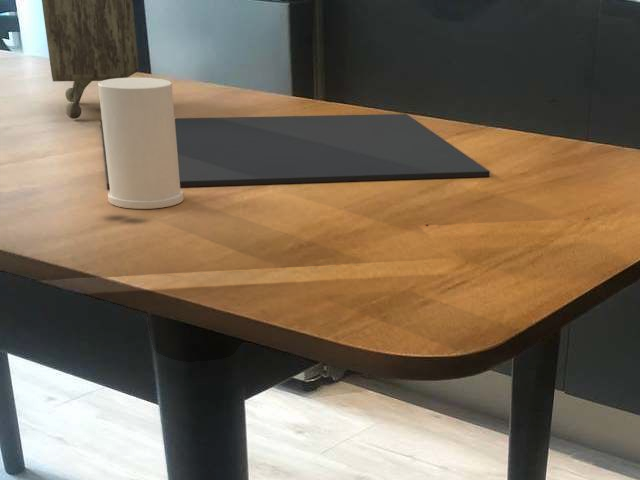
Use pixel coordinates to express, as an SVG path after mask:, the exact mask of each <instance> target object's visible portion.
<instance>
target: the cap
mask: <svg viewBox="0 0 640 480" xmlns="http://www.w3.org/2000/svg"><path fill="white" fill-rule="evenodd" d="M97 87H98V89H97V90H98V97H99V106H100V114H101V115H100V116H101V120H102V124H103V133H104V142H105V151H106V160H107V169H108V178H109V187H110V190H109V191H108V192H107V198H108V203H109V204H110V205H112V206H116V207H119V208H124V209H131V210H132V209H134V210H151V209H152V210H153V209H162V208H168V207H173V206H176V205H179V204H181V203H182V202H183V201H184V198H185V197H184V191H183V189H181V187H180V178H179V166H178V154H177V141H176V129H175V118H176V117H175V106H174V105H175V104H174V93H173V92H174V91H173V83H172V81H170V80H168V79H163V78H156V77H127V78H115V79H108V80H103V81H98V83H97Z"/></svg>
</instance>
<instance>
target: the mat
mask: <svg viewBox="0 0 640 480" xmlns="http://www.w3.org/2000/svg"><path fill="white" fill-rule="evenodd" d="M99 121H100V131H101V141H102V151H103V161H104V171H105V172H104V173H105V180H106V188H107V190H109V191H110V187H109V178H108V169H107V160H106V151H105V142H104V133H103V124H102V119H100V120H99ZM175 129H176V141H177V154H178V166H179V178H180V188H194V187H195V188H197V187H198V188H199V187H221V186H222V187H225V186H253V185H284V184H285V185H286V184H287V185H288V184H310V183H311V184H316V183H342V182H343V183H344V182H345V183H346V182H371V181H373V182H374V181H375V182H376V181H399V180H400V181H403V180H404V181H405V180H432V179H461V178H462V179H463V178H489V177H490V173H491V172H490V170H489V169H487V168H486V167H484V166H483V165H481V164H480V163H478V162H477V161H475V160H474V159H473V158H471V156H469V155H467V154H465V153H464V152H462V151H461V150H460V149H458V148H457V147H455V146H454V145H452V144H451V143H449V142H448V141H446V140H445V139H444V138H443V137H441V136H440V135H438V134H436V133H435V132H434V131H432V130H431V129H429V128H428V127H426V126H425V125H423V124H422V123H421V122H419V121H417V120H416V119H415V118H414V117H412V116H410V115H409V114H407V113H390V114H388V113H385V114H384V113H383V114H334V115H327V114H326V115H279V116H277V115H276V116H275V115H274V116H232V117H231V116H230V117H229V116H227V117H224V116H223V117H222V116H221V117H177V118H176V117H175Z"/></svg>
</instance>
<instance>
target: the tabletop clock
mask: <svg viewBox="0 0 640 480" xmlns="http://www.w3.org/2000/svg"><path fill="white" fill-rule="evenodd" d="M41 4H42V5H41V6H42V12H43V20H44V27H45V35H46V42H47V43H46V44H47V50H48V58H49V65H50V73H51V78H52V82H73V84H72V87H69V88H67V89H66V90H65V94H64V95H65V99H66V100H67V101H68V102H69V104H67V105H66V107H65V112H66V115H67V116H68V117H69V118H70V119H73V120H75V119H79V118H80V117H81V115H82V114H83V113H82V112H83V111H82V108H81V106H80V105H79V104H80V101H81V99H82V96H83V95H84V92H85V89H87V87H88V86H89V85H90V84H91V83H92V82H101V81H103V80H108V79H115V78H130V77H132V76H133V75H134V74H136V73H138V72H139V59H138V58H139V57H138V46H137V35H136V34H137V33H136V24H135V13H134V2H133V0H41ZM72 102H73V103H72Z"/></svg>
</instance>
